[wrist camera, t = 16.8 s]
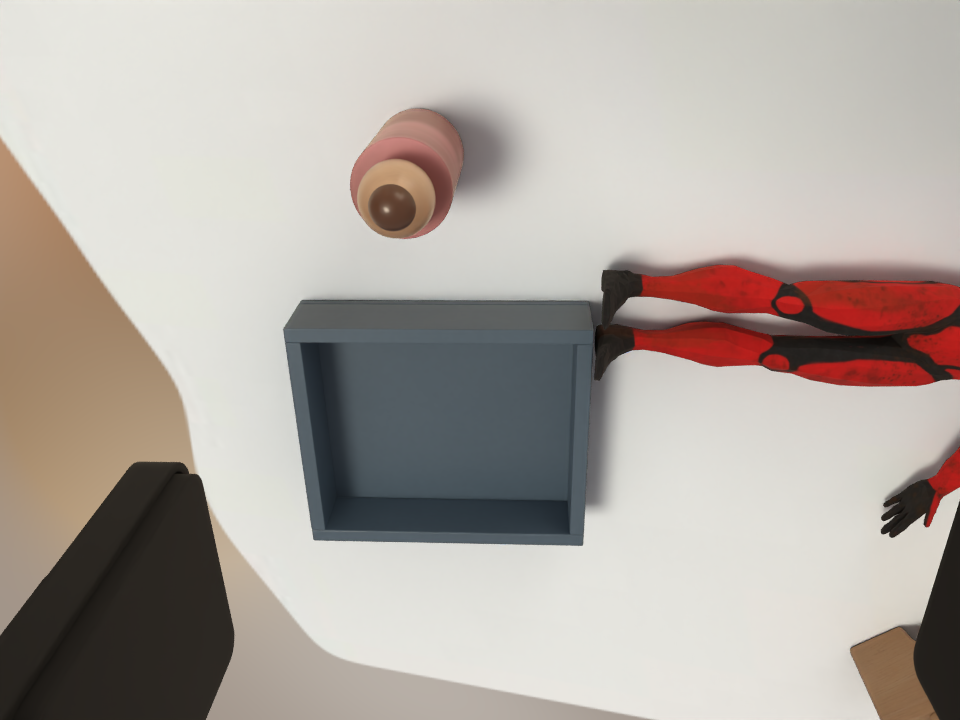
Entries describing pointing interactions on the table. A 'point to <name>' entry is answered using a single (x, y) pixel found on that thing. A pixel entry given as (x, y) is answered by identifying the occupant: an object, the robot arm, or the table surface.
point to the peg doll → (408, 174)
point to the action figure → (808, 340)
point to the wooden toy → (892, 677)
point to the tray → (443, 419)
